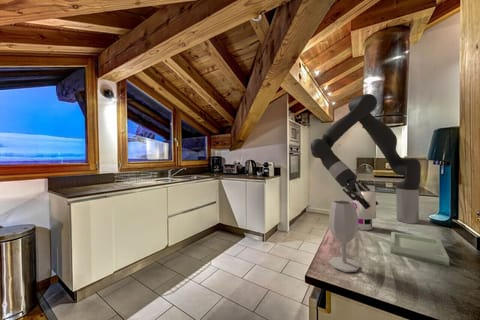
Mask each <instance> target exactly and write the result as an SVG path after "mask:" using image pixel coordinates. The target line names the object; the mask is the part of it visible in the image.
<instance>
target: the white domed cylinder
mask: <svg viewBox="0 0 480 320" xmlns="http://www.w3.org/2000/svg"><path fill="white" fill-rule="evenodd" d="M360 194H361V195H362V197H363V198H364V199H365V200H366V201H367V202H368V203H369V204H370V207H369V208H368V209H365V208H364V207H363V206H362V205H361V204H360V203H359V216H360V217H362V218H366V219H372V220H374V219H377V205H376V201H377V192H376V191H374V190H371V191H368V190H362V191H361V192H360Z"/></svg>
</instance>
